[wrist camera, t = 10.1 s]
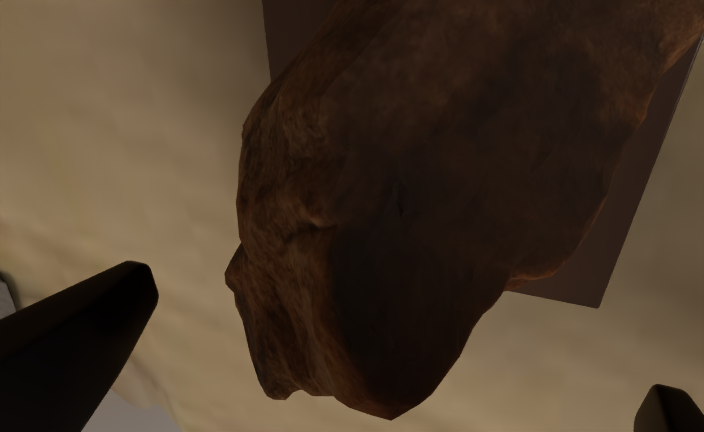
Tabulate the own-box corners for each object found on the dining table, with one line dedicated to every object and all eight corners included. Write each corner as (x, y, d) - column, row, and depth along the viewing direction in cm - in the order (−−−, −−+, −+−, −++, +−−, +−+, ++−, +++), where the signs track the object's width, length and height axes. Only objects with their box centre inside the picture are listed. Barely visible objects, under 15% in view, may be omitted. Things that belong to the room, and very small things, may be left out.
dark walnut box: (820, -429, 11) (925, -533, 8) (592, 241, 21) (598, 309, 18) (289, -361, 14) (213, -418, 11) (322, 196, 24) (289, 247, 21)
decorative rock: (377, 209, 19) (237, 501, 10) (261, 79, 17) (-12, 306, 9) (756, -15, 12) (1232, 341, 3) (621, -270, 10) (908, -735, 2)
